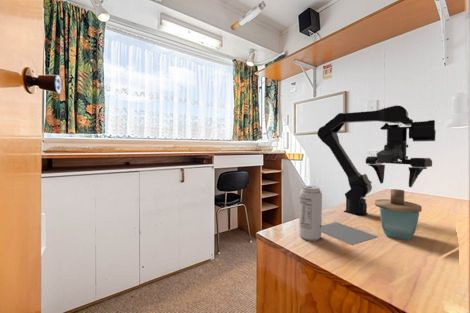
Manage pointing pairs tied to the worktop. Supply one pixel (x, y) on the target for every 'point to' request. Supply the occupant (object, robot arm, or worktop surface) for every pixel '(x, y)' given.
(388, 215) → the flower pot
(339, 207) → the worktop surface
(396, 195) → the lid
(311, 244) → the worktop surface
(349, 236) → the mat
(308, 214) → the energy drink can
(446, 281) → the worktop surface
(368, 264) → the worktop surface
